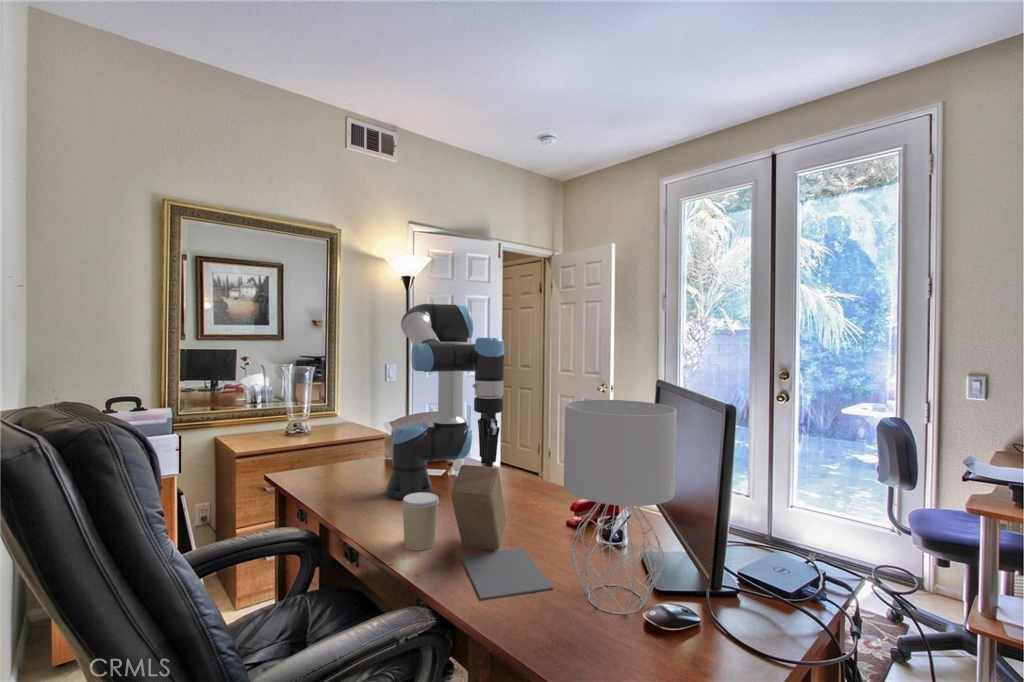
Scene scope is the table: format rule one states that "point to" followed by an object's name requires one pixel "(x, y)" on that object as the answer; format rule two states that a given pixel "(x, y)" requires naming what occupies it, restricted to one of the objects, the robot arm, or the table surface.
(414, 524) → the coffee cup
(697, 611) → the table surface
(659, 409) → the table lamp
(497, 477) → the block
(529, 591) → the mat
